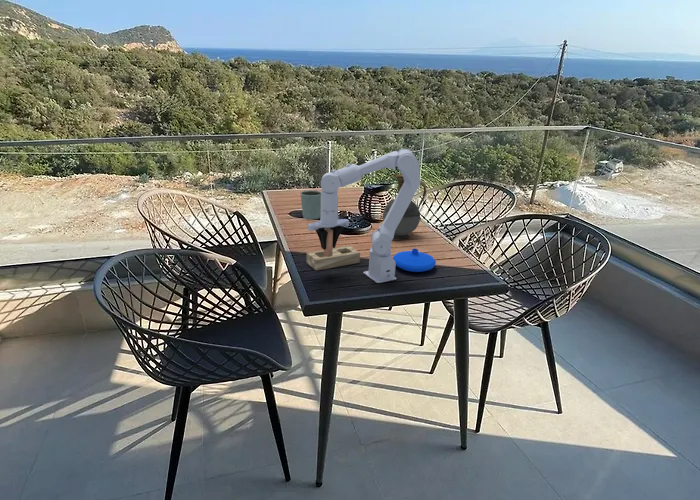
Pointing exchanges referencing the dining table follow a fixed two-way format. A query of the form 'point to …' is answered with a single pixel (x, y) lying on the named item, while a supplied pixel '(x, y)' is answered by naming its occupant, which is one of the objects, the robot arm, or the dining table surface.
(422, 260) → the blue round knobbed lid
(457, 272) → the dining table surface
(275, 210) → the dining table surface
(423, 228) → the dining table surface
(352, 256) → the hole block
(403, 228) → the pitcher
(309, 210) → the green cup
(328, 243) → the peg
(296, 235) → the dining table surface
